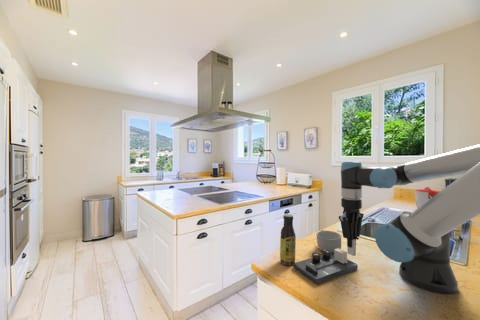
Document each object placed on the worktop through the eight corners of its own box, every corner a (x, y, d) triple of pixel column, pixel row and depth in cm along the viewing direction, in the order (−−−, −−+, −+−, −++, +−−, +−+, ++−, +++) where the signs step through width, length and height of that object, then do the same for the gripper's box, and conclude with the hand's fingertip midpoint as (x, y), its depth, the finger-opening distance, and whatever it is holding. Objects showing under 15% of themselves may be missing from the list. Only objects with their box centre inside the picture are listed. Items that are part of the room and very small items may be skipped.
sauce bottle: (286, 268, 80) (286, 218, 80) (277, 261, 86) (276, 214, 86) (299, 264, 83) (298, 216, 83) (288, 257, 89) (288, 212, 89)
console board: (357, 269, 79) (357, 257, 79) (316, 284, 69) (316, 271, 69) (331, 256, 90) (331, 246, 90) (293, 268, 80) (293, 257, 80)
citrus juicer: (422, 213, 158) (422, 188, 158) (411, 208, 174) (411, 185, 174) (447, 215, 153) (447, 188, 153) (433, 209, 170) (433, 186, 170)
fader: (346, 262, 80) (346, 251, 80) (342, 263, 79) (342, 253, 79) (338, 257, 84) (338, 248, 84) (334, 259, 83) (334, 249, 83)
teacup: (344, 257, 89) (344, 239, 89) (318, 255, 91) (318, 237, 91) (336, 244, 102) (336, 228, 102) (313, 242, 104) (313, 227, 104)
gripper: (353, 195, 90) (353, 247, 91) (332, 198, 85) (333, 253, 85) (369, 198, 84) (370, 254, 84) (349, 201, 78) (349, 261, 78)
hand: (351, 254), depth 84 cm, fingers closed
